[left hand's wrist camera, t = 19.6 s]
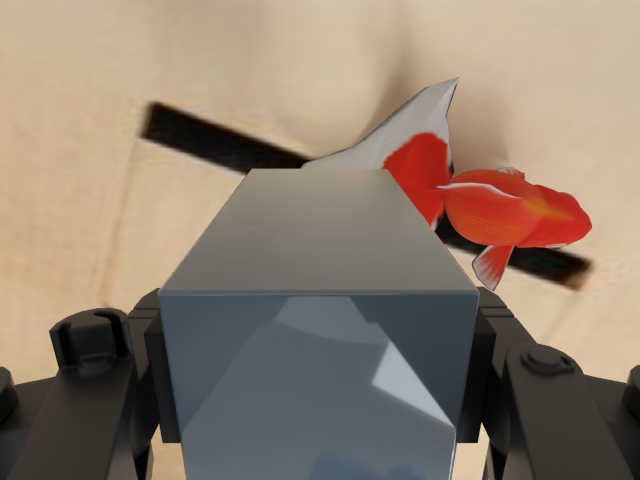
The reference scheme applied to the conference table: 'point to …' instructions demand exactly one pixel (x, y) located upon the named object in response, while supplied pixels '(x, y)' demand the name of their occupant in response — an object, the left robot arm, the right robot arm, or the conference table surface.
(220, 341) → the block
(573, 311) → the conference table surface
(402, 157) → the fish
